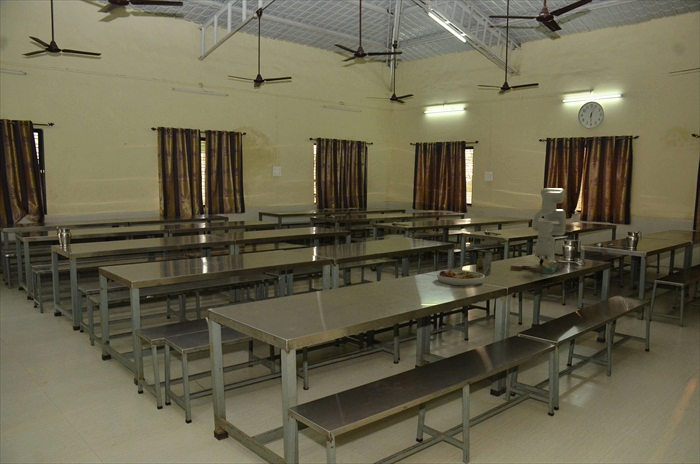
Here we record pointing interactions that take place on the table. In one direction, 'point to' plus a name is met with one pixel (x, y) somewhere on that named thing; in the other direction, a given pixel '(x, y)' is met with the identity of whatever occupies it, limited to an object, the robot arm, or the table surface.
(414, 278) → the table surface
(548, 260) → the birch block
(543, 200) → the robot arm
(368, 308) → the table surface
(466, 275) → the bowl
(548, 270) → the trap board
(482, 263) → the coffee box
